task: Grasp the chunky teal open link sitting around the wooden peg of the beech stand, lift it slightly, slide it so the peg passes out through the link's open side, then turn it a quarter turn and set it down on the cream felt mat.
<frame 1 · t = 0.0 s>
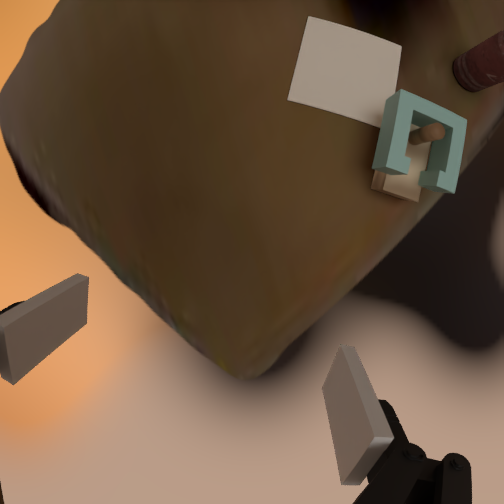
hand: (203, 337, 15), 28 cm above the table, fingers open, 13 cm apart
hook stand: (397, 149, 38), on the table
felt mat: (348, 69, 37), on the table
c link: (412, 145, 33), point 5 cm above the table, touching hook stand
can: (466, 74, 35), on the table
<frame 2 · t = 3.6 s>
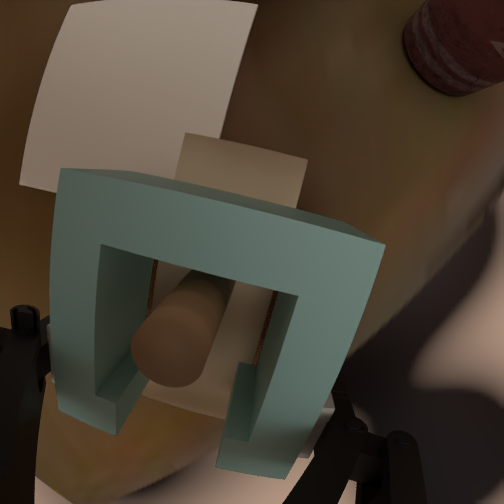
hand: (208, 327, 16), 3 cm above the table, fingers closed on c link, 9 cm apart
hook stand: (226, 268, 18), on the table
felt mat: (119, 91, 16), on the table
c link: (209, 298, 13), point 5 cm above the table, touching gripper, hook stand
can: (441, 54, 15), on the table
when the fingers open (1 cm above the table, at t = 12.3 s): c link drops 3 cm, resting on felt mat.
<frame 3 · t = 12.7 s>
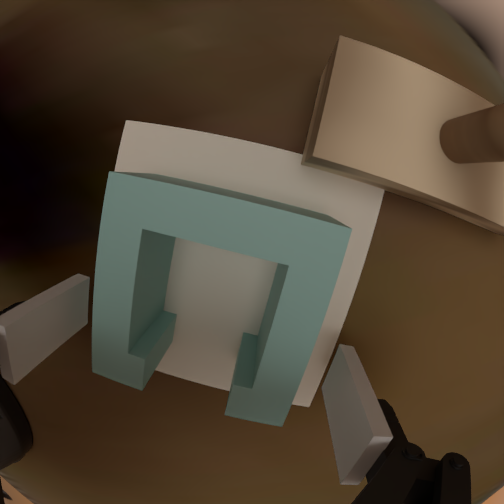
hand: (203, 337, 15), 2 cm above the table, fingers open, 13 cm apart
hook stand: (424, 157, 15), on the table
felt mat: (222, 275, 17), on the table
c link: (219, 277, 17), resting on felt mat
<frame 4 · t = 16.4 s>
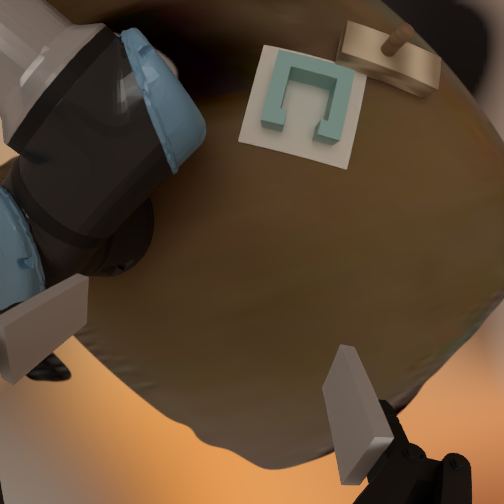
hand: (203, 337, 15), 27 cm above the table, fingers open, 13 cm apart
hook stand: (382, 66, 35), on the table
felt mat: (305, 103, 37), on the table
c link: (305, 103, 37), resting on felt mat
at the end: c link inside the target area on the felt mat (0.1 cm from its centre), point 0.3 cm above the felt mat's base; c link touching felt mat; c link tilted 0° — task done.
